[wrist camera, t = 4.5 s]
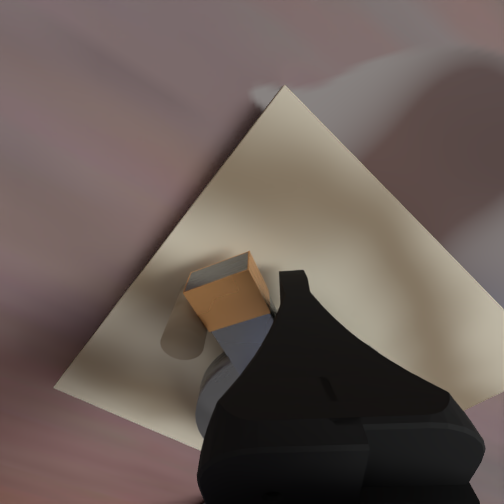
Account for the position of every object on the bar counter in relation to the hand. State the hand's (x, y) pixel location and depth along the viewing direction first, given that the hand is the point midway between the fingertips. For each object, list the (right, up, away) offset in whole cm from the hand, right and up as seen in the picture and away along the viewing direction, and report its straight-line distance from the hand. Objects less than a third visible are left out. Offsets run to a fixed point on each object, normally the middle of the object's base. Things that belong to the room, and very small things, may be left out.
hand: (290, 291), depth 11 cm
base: (+1, -5, +5) cm, 7 cm away
